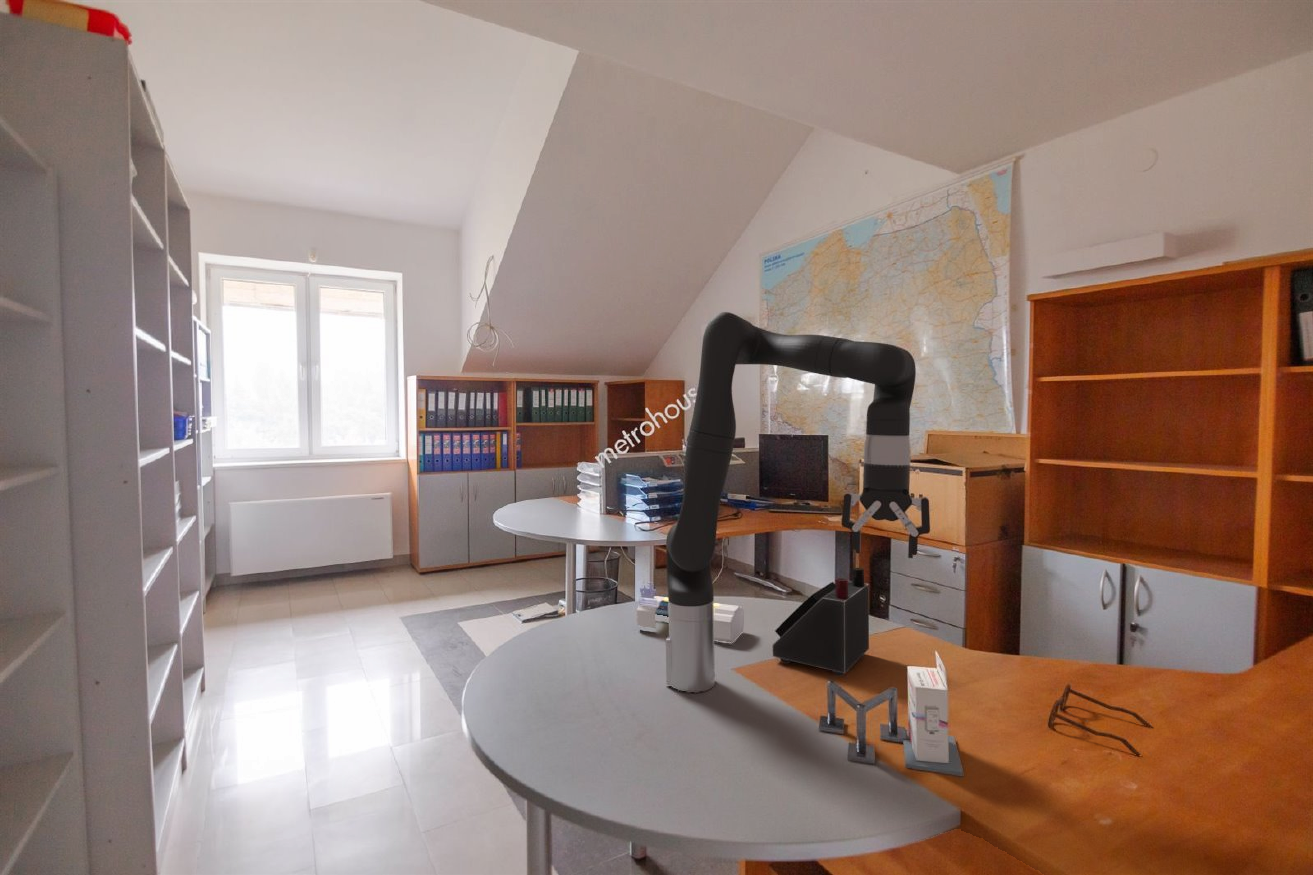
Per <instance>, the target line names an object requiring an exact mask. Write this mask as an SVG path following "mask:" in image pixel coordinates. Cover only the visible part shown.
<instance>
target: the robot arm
mask: <svg viewBox="0 0 1313 875" xmlns="http://www.w3.org/2000/svg"><path fill="white" fill-rule="evenodd" d="M701 345H702V346H701V357H700V367H699V368H700V370H699V378H698V384H697V391H696V395H695V400H694V401H695V402H694V408H693V411H692V412H693V414H692V417H691V423H690V426H689V432H688V435H687V441H686V442H687V443H686V446H685V453H684V454H685V455H684V466H683V467H684V468H683V470H684V473H683V478H684V480H683V497H682V503H681V507H680V512H679V515H678V519H677V521H676V522H675V523H673V525H672V526H671V527H670V528H669V530H668V532H667V535H666V538H665V539H666V540H665V542H666V543H665V554H666V555H665V558H666V559H665V561H666V585H667V596H668V612H669V624H668V636H667V638H666V639H665V672H666V673H665V676H666V678H665V681H666V682H665V684H667V685H671V686H673V687H675V688H677V689H678V690H677V691H679V690H682V691H688V692H687V693H691V692H694V693H700V692H699V691H703V692H706V691H708V690H711V689H713V687H714V686H715V684H716V683H715V680H716V679H715V678H716V672H715V664H716V663H715V642H714V603H715V601H714V599H715V598H714V597H715V596H714V585H713V584H714V583H713V579H712V564H711V563H712V562H711V560H713V557H714V555H715V551H716V543H717V542H716V541H717V529H718V528H717V527H718V520H719V510H720V504H721V499H722V496H723V492H724V488H725V484H726V480H727V477H728V473H729V467H730V463H731V460H732V457H733V456H732V455H733V450H734V445H735V440H736V434H737V433H736V431H737V421H736V414H735V413H736V412H735V406H734V400H733V380H734V373H735V369H736V366H737V365H764V366H768V365H769V366H779V367H783V368H784V367H785V368H788V369H789V368H790V369H795V370H799V371H804V372H808V373H812V374H817V375H823V376H828V377H834V378H840V379H842V378H843V379H851V380H856V381H859V382H863V383H869V384H872V385H874V389H873V399H872V402H871V403H870V404H869V405H868V407H867V410H866V411H867V412H866V426H865V428H866V429H865V431H866V432H865V434H866V435H865V441H864V447H863V449H864V450H863V474H862V477H863V478H862V479H863V480H862V492H861V494H855V493H851V492H849V491H847V492H845V494H844V495H843V502H842V513H841V526H842V527H843V528H847V529H849V530H850V531H851V548H852V550H855V553H856V554H861V544H862V542H861V539H862V538H861V537H862V531H861V528H863V526H864V525H865V524H866V523H867V522H868V521H869V520H870V519H871V518H872V519H873V520H875V521H884V520H886V521H888V522H895V521H898V520H899V521H900V523H902V525H903V526H904V527H905V528H906V531H908V532H909V534H908V544H907V545H908V546H907V547H908V548H907V551H908V554H907V558H908V559H913V557H914V556H917V555H918V544H919V543H918V540H919V537H920V536H921V535H925V534H929V533H930V532H931V522H930V520H931V518H930V500H929V497H927V496H922V497H911V494H910V482H911V478H910V477H911V476H910V475H911V460H912V459H911V458H912V457H911V443H910V442H911V441H910V440H911V439H910V429H911V428H910V426H911V425H910V424H911V417H910V414H911V410H910V409H911V405H912V399H913V395H914V394H913V393H914V389H915V382H916V377H917V376H916V375H917V374H916V362H915V359H914V357H913V355H912V354H911V352H909V351H908V350H907V349H905V348H903V347H899V346H897V345H895V344H889V343H882V342H875V341H874V342H873V341H857V340H855V341H854V340H852V339H849V338H842V337H836V336H829V335H823V334H822V335H821V334H820V335H819V334H783V333H778V332H772V331H770V330H766V329H763V328H760V327H758V326H755V325H753V324H752V323H751V322H750V321H748V320H746V319H744V318H742V317H740V316H739V315H737V314H735V313H732V312H728V311H723V312H719V313H717V314H716V315H714V316H713V317H712V318H711V319H710V321H709V322H708V323H707V325H706V327H705V330H704V334H703V337H702V344H701ZM858 501H859V502H860V503H861V505H862V507H863V508H864V509H865V511H864V512H863V513H862V514H861V515H860V517H859V518H857V520H855V521H852V520H851V511H852V507H855V505H856V503H857V502H858ZM912 505H914V506H915V509H916V510H918V511H920V515H921V516H920V518H921V519H920V520H921V525H919V526H915V524H914V522H913V521H912V520H911V519H910V517H909V516H908V514H907V513H906V512H907V511H908V509H910V508H911V506H912ZM682 691H681V692H682Z"/></svg>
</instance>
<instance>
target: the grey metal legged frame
mask: <svg viewBox="0 0 1313 875" xmlns="http://www.w3.org/2000/svg"><path fill="white" fill-rule="evenodd" d="M826 690H827V691H826V694H827V695H826V699H827V703H826V705H827V706H826V707H827V713H826V714H827V715H820V716H819V724H818V731H819V732H822V733H823V732H825V733H831V734H839V735H844V730H845V729H844V727H845V718H840V717H837V712H836V710H837V705H836V703H837V702H836V701H837V698H836V697H837V696H838V697H839V698H840V699H841V700H843V701H844V702H845V703H846V704H847V705H848V706H850V707H851V708H852V709H853V710H854V711H855V712H856V742H848V744H847V745H848V746H847V748H848V749H847V761H850V762H851V761H852V762H857V763H864V764H869V765H876V764H875V763H876V759H875V757H876V756H875V753H876V750H875V749H876V748H875V745H869V744H867V714H866V713H868V712H869V711H871V710H872V709H875V708H877V707H878V706H880V705H882V704H884V703H885V702H887V701H888V724H884V723H880V727H879V729H880V731H879V732H880V741H887V742H894V743H902V744H903V739H904V740H906V730H907V729H906V727H905V726H899V725H898V689H897V687H893V686H890V687H888V689H886V690H884V691H882V692H880V693H878V694H876V695H874V696H872V697H871V698H869V699H867V700H865V701H863V702H860V701H859V700H858V699H856V697H854V696H853V695H852V694H850V693H849V692H848V691H846V690H845V689H844V688H843V687H842V686H840V685H839V684H838V683H837V682H836V681H835V680H834V679H827V682H826ZM836 695H837V696H836Z"/></svg>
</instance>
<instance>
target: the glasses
mask: <svg viewBox="0 0 1313 875" xmlns="http://www.w3.org/2000/svg"><path fill="white" fill-rule="evenodd" d="M1070 694H1072V695H1075V696H1077V697H1079V698H1081V699H1084V700H1086V701H1088V702H1091V703H1094V704H1096V705H1098V706H1101V707H1103V708H1105V709H1107V710H1112V711H1117V712H1121V713H1124V714H1128V715H1130V716H1133V717H1134V718H1135V719H1136V720H1137V721H1139V722H1140V723H1141V724H1142V725H1143V726H1145V725H1146V726H1149V727H1148V728H1150V727H1153V725H1151V724H1150V723H1149V722H1147V720H1145V719H1144V718H1143V717H1141V716H1140V714H1138V713H1137V712H1135V711H1132V710H1129V709H1126V708H1124V707H1120V706H1114V705H1111V704H1107V703H1105V702H1103V701H1101V700H1099V699H1096V698H1093V697H1091V696H1088V695H1086V694H1083V693H1081V692H1078V691H1077V690H1074V689H1071V685H1070V684H1066V686H1065V687H1064V691H1063V693H1062V696H1060V698H1059V699H1056V700H1055V701H1054V703H1053V705H1052V708H1051V711H1050V714H1049V717H1048V721H1047V727H1048V728H1052V726H1053V725H1054V723H1055V720H1056V718H1057V719H1059V720H1060V721H1062V722H1066V723H1068V724H1070V725H1072V726H1074V727H1077V728H1079V729H1081V730H1083V731H1085V732H1088V733H1090V734H1093V735H1095V736H1099V737H1104V738H1110V739H1113V740H1116V741H1119V742H1121V743H1122V744H1123V745H1124V746H1125V747H1126V748H1127V749H1128V750H1129V751H1130V752H1132V753H1131V754H1133V753H1134V754H1136V755H1142V754H1141V753H1140V752H1139V751H1138V750H1137V749H1135V747H1134V745H1132V744H1131V743H1130V742H1128V741H1127V739H1125V738H1124V737H1121V736H1119V735H1116V734H1113V733H1109V732H1105V731H1097V730H1096V729H1093V728H1091V727H1089V726H1087V725H1084V724H1082V723H1079V722H1078V721H1075V720H1073V719H1070V718H1068V717H1066V716H1064V715H1061V714H1059V713H1058V711H1059V710H1060V711H1063V710H1064V709H1065V706H1066V705H1067V702H1068V699H1069V696H1070ZM1146 726H1145V727H1146ZM1134 754H1133V755H1134ZM1136 755H1135V756H1136Z"/></svg>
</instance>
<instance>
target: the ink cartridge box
mask: <svg viewBox="0 0 1313 875" xmlns="http://www.w3.org/2000/svg"><path fill="white" fill-rule="evenodd" d="M934 653H935V662H936V667H923V666H915V665H914V666H912V665H911V666H910V665H909V666H907V668H906V669H907V730H908V734H909V737H910V741H911V744H912V747H913V751H914V754H915V757H916V760H917V761H927V762H937V763H949V738H948V736H949V688H948V679H947V669H946V667H945V665H944V663H943V661H942V659H941V657H940V656H939V653H938V651H937V650H935V652H934Z"/></svg>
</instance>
